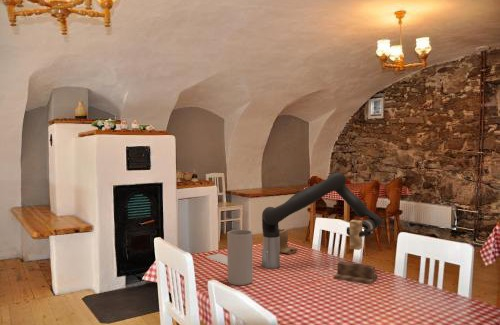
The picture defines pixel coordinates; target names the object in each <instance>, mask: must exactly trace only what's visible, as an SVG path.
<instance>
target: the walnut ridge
mask: <svg viewBox="0 0 500 325" xmlns="http://www.w3.org/2000/svg"><path fill="white" fill-rule="evenodd" d="M336 270H337V273H335V274H334V275H333V279H335V280H338V281H339V280H340V281H347V282H353V283H359V284H364V285H365V284H366V285H372V284H373V283H374V282H375V281H376V280H377V279H378V274H375V265H367V264H362V263H361V264H359V263H355V262H354V263H353V262H346V261H338V263H337V269H336Z"/></svg>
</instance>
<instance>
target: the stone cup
mask: <svg viewBox="0 0 500 325" xmlns="http://www.w3.org/2000/svg"><path fill="white" fill-rule="evenodd" d="M279 232H280V253H282V254H288V255H293V254H296V253H297V252H298V251H299V250H298V248H296V247H295V248H294V247H290V246H289V245H288V241H289V233H288V230H287V228H279Z"/></svg>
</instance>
